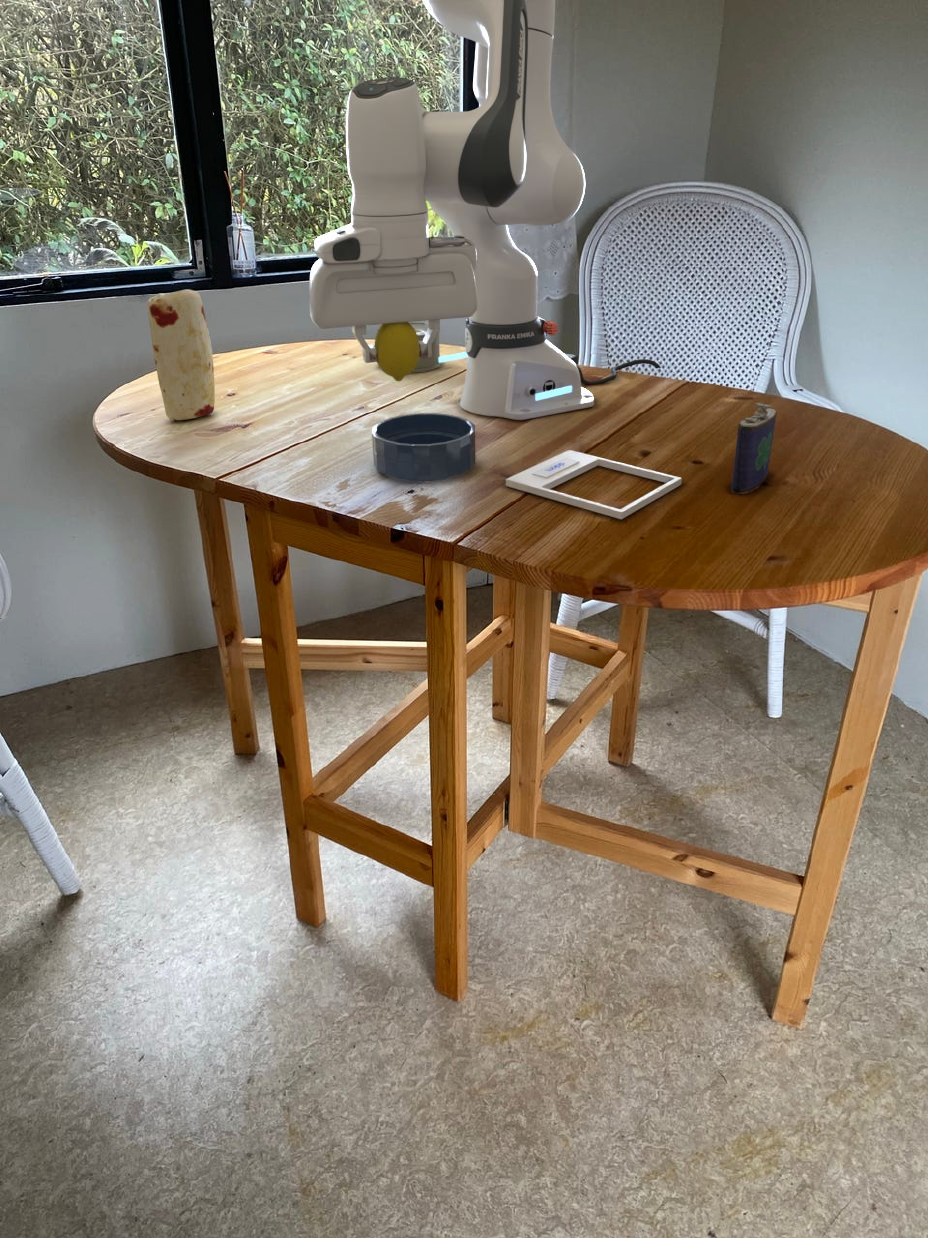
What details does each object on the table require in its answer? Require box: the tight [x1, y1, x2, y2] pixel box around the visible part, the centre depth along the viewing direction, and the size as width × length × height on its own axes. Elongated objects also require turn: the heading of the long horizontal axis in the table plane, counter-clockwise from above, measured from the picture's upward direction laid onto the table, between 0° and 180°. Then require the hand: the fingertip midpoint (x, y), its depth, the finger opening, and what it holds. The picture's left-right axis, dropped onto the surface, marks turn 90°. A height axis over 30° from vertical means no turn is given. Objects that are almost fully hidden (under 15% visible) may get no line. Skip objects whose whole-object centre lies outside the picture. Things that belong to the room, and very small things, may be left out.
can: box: [376, 322, 441, 374], centre depth 177 cm, size 12×12×7 cm
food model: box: [147, 289, 216, 421], centre depth 147 cm, size 10×7×20 cm
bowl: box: [371, 412, 476, 482], centre depth 128 cm, size 14×14×6 cm
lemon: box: [374, 322, 420, 382], centre depth 113 cm, size 6×6×8 cm
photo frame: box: [505, 449, 683, 520], centre depth 122 cm, size 15×1×18 cm
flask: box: [730, 402, 777, 495], centre depth 119 cm, size 9×3×11 cm, turn 144°
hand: (397, 359), depth 114 cm, fingers closed on lemon, 5 cm apart
